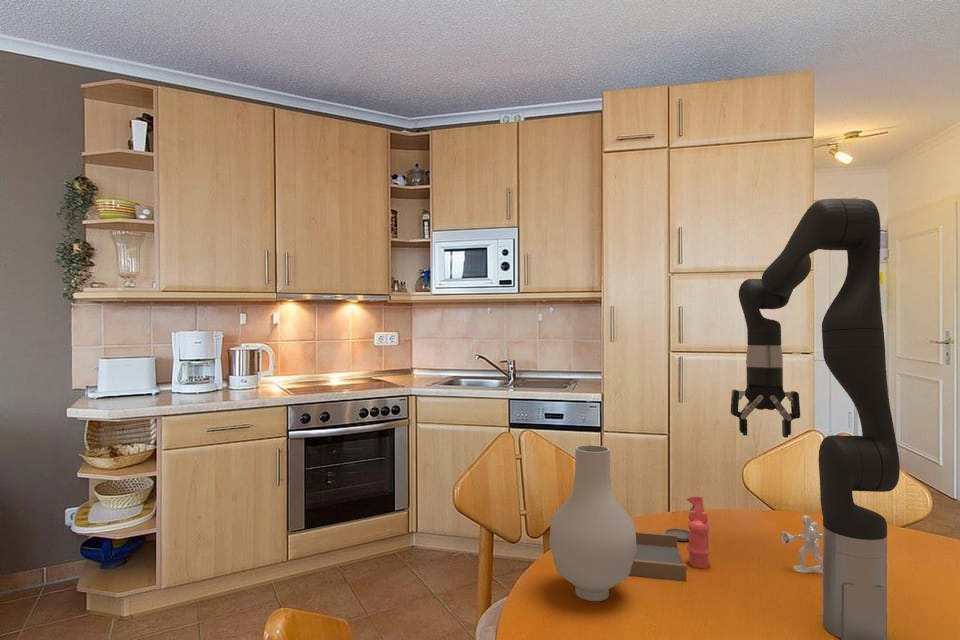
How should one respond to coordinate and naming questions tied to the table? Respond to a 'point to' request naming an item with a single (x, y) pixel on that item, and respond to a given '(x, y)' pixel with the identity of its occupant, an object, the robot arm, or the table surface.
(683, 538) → the pocket watch
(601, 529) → the vase
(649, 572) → the tray
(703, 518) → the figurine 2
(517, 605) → the table surface
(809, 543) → the figurine
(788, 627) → the table surface
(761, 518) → the table surface
